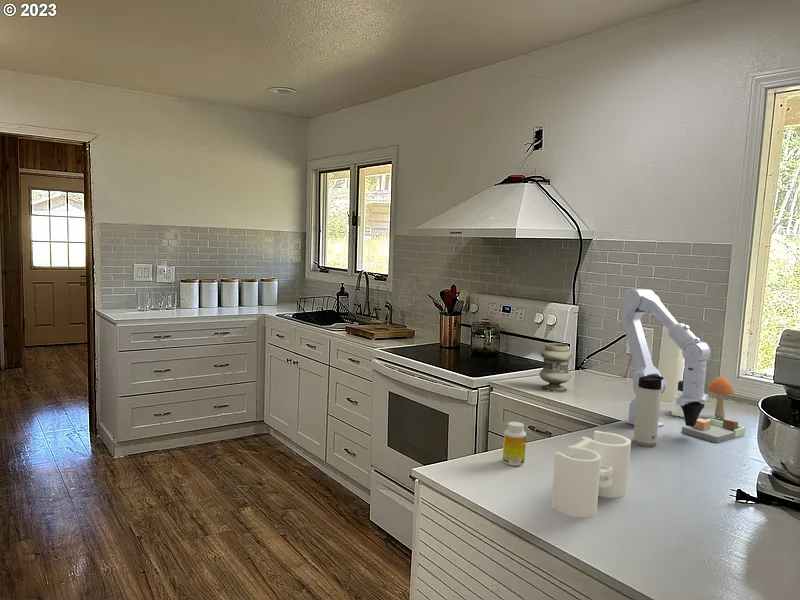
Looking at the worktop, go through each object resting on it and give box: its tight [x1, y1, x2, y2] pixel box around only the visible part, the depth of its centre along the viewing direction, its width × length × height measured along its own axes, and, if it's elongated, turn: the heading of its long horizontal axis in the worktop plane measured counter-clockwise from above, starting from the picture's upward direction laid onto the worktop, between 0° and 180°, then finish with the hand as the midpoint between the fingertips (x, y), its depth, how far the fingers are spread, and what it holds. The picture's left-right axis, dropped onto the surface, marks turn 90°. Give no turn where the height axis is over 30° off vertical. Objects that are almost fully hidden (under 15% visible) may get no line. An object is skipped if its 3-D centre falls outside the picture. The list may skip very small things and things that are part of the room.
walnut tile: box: [722, 417, 739, 431], centre depth 190 cm, size 4×4×2 cm
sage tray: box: [705, 418, 746, 438], centre depth 193 cm, size 6×11×2 cm, turn 35°
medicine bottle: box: [671, 379, 684, 418], centre depth 210 cm, size 7×7×12 cm
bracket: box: [550, 430, 632, 519], centre depth 135 cm, size 25×10×12 cm, turn 139°
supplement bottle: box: [501, 421, 527, 467], centre depth 155 cm, size 6×6×10 cm
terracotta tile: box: [693, 417, 711, 430], centre depth 189 cm, size 4×4×2 cm
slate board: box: [681, 425, 736, 444], centre depth 188 cm, size 11×11×2 cm
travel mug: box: [632, 375, 665, 448], centre depth 176 cm, size 6×7×20 cm
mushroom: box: [707, 375, 735, 419], centre depth 207 cm, size 8×8×15 cm
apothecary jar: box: [539, 342, 573, 393], centre depth 239 cm, size 12×12×18 cm
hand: (690, 425), depth 185 cm, fingers closed
